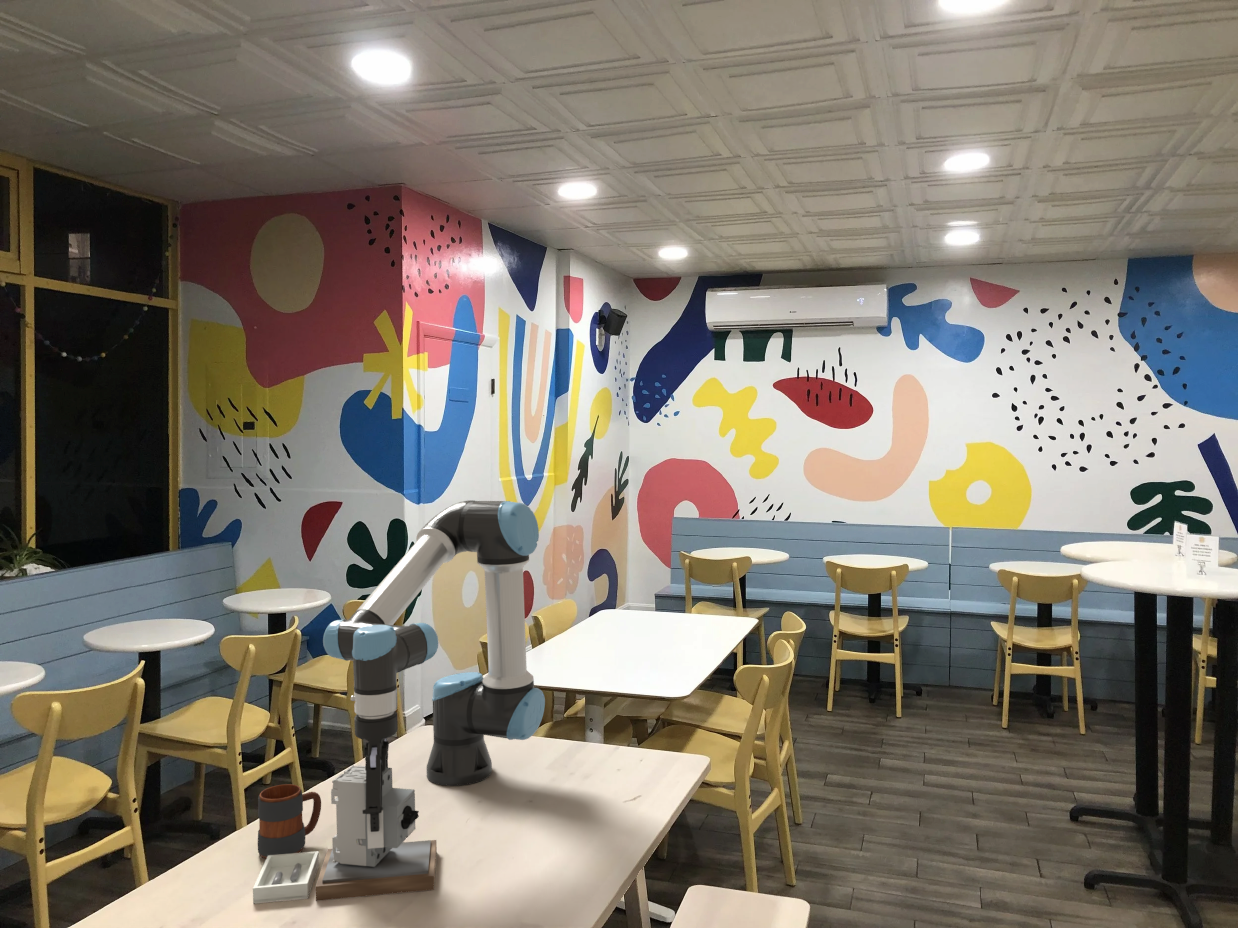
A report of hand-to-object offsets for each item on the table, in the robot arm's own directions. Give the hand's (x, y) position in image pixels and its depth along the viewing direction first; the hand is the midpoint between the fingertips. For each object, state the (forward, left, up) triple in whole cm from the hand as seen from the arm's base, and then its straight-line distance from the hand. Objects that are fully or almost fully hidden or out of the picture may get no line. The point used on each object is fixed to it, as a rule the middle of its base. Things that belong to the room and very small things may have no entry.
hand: (378, 834), depth 164 cm
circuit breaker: (0, 0, -4) cm, 4 cm away
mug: (-14, -18, -8) cm, 24 cm away
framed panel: (0, 0, -8) cm, 8 cm away
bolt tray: (0, -16, -8) cm, 18 cm away
